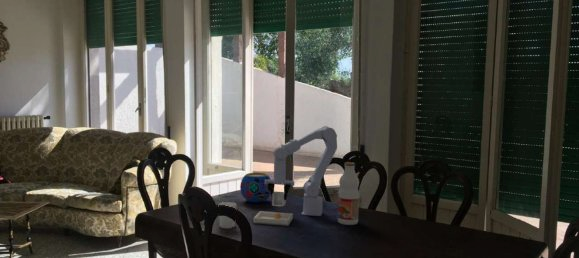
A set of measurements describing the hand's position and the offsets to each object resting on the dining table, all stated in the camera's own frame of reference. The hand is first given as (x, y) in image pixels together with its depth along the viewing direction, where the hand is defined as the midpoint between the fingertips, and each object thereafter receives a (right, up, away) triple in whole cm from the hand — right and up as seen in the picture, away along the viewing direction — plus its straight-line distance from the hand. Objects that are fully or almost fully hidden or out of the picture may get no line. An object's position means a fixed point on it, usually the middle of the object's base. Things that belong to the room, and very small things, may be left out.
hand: (279, 199), depth 228 cm
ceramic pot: (-13, -5, +25) cm, 29 cm away
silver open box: (0, -3, 0) cm, 3 cm away
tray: (-2, -8, -12) cm, 15 cm away
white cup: (-22, -9, -22) cm, 33 cm away
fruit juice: (+32, -9, -11) cm, 35 cm away
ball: (0, -6, -12) cm, 14 cm away
